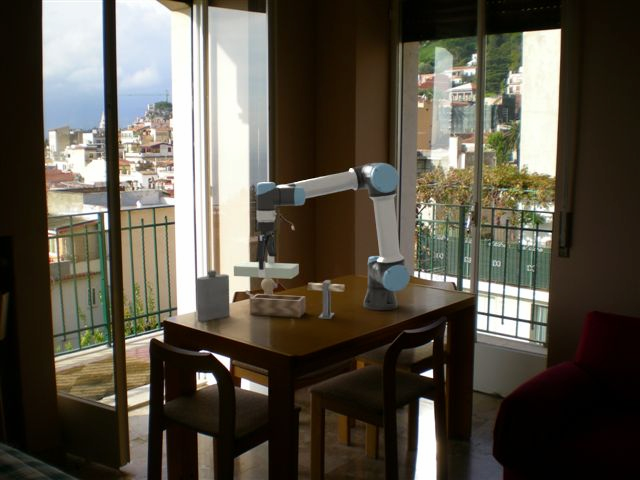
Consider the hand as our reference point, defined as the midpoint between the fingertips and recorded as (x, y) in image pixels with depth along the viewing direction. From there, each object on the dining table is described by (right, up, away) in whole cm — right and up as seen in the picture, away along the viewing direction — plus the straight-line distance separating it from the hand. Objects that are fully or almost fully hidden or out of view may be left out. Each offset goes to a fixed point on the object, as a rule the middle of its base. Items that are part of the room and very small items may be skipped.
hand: (266, 274), depth 279 cm
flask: (-23, -19, +9) cm, 31 cm away
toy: (-5, -15, +33) cm, 37 cm away
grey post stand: (+24, -18, +12) cm, 33 cm away
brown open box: (+4, -17, +17) cm, 25 cm away
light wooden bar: (+24, -7, +11) cm, 27 cm away
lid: (0, 0, 0) cm, 0 cm away
